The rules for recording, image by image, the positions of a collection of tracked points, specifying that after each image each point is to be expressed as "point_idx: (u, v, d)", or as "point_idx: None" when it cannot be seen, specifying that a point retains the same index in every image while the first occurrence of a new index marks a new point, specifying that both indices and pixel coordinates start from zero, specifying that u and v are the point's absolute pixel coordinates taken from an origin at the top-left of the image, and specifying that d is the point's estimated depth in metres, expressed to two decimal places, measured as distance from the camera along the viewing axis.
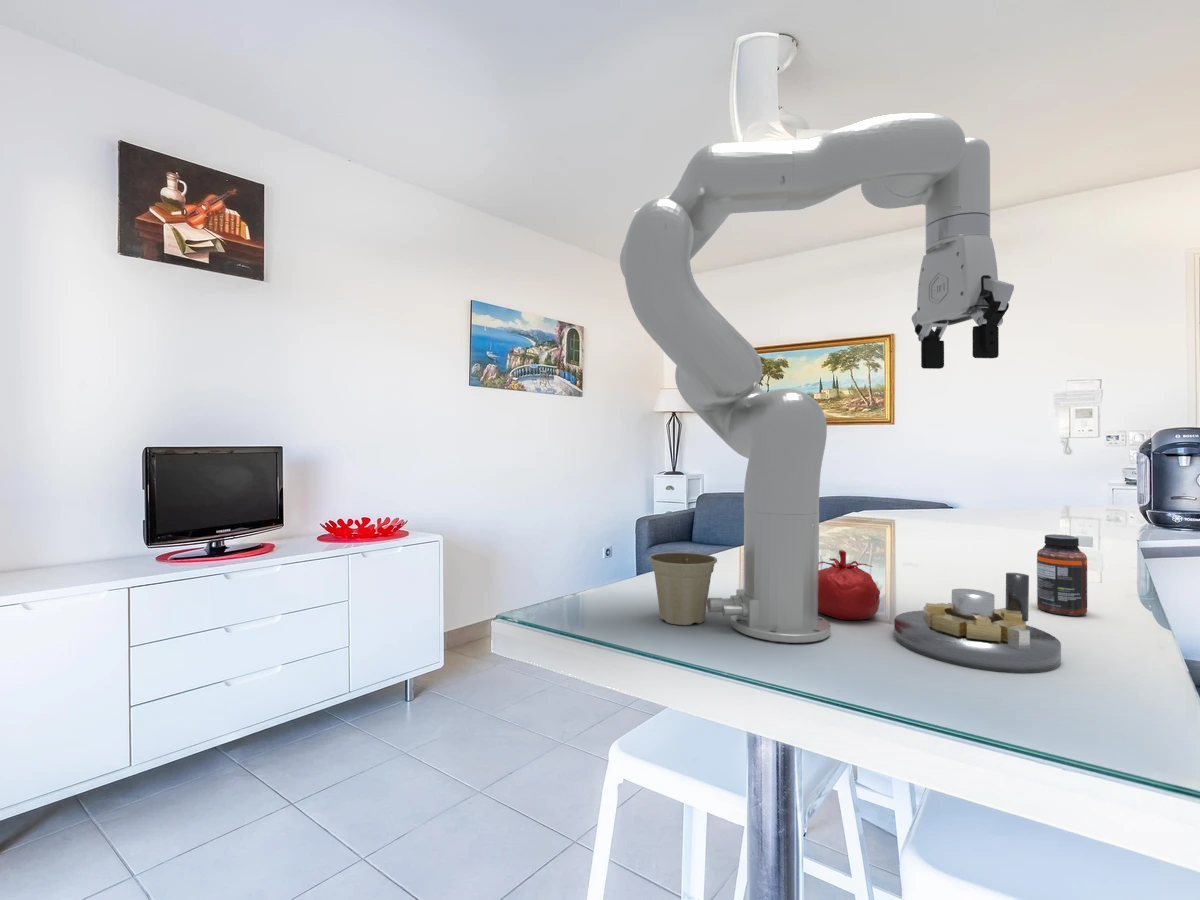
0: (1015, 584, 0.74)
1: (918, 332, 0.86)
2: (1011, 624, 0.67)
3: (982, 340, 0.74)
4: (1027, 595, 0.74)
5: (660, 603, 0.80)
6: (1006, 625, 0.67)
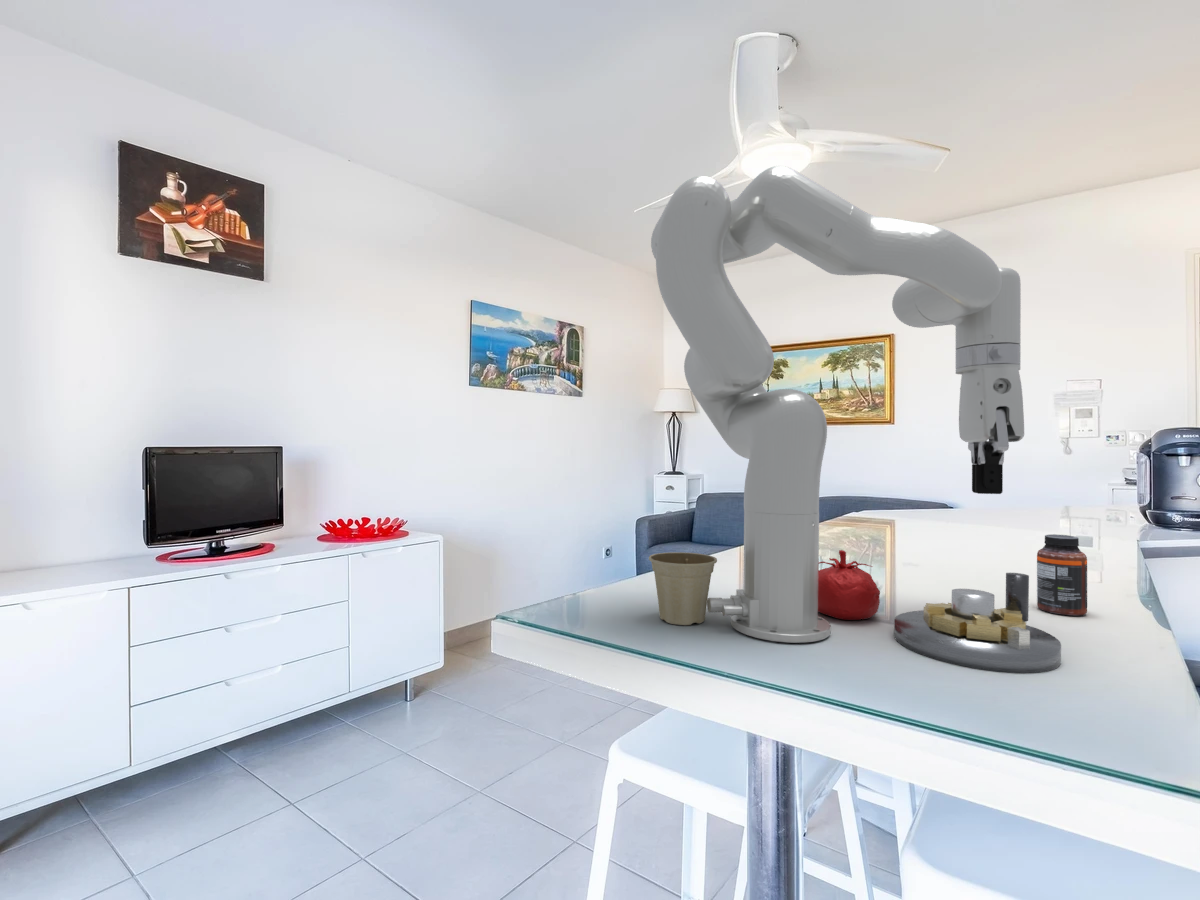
0: (1015, 584, 0.74)
1: None
2: (1011, 624, 0.67)
3: None
4: (1027, 595, 0.74)
5: (660, 603, 0.80)
6: (1006, 625, 0.67)
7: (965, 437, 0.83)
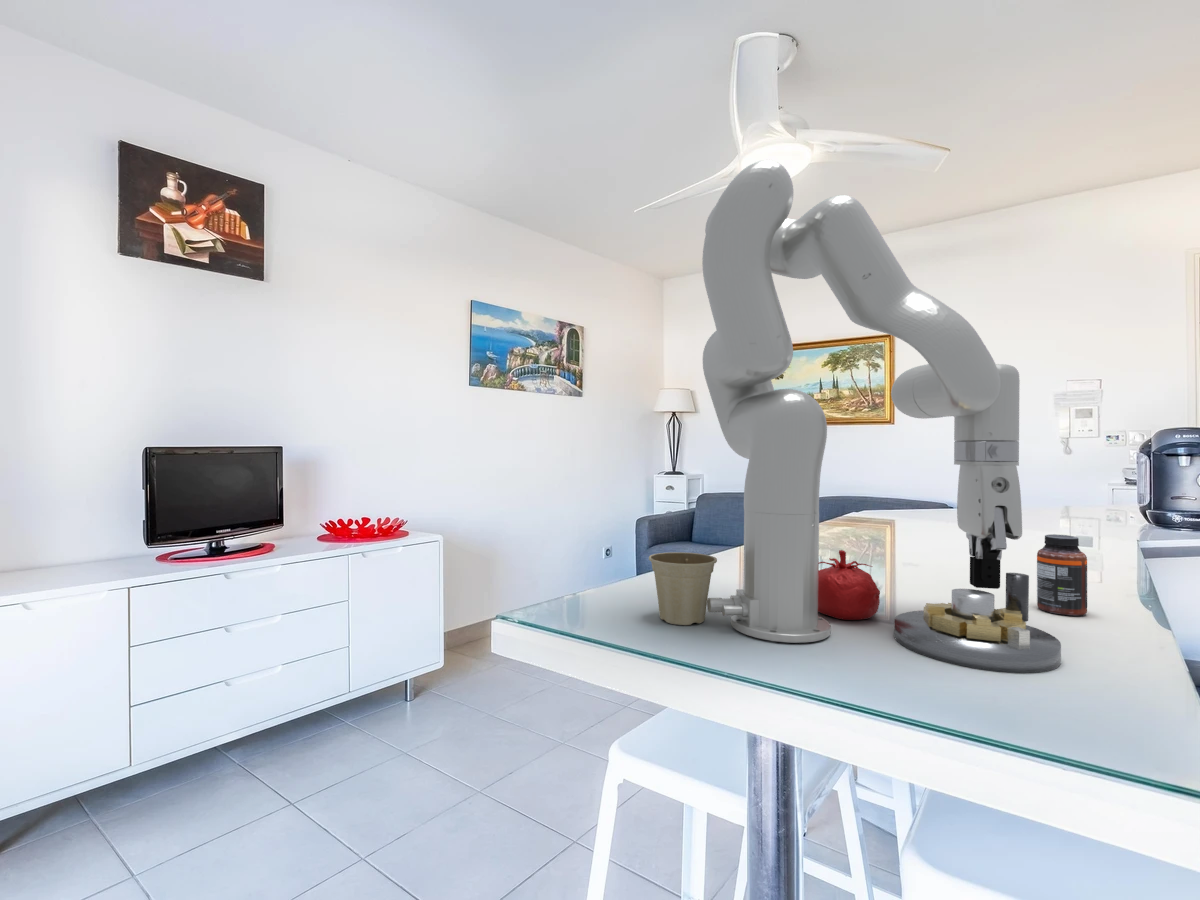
0: (1015, 584, 0.74)
1: (999, 550, 0.78)
2: (1011, 624, 0.67)
3: None
4: (1027, 595, 0.74)
5: (660, 603, 0.80)
6: (1006, 625, 0.67)
7: (963, 528, 0.83)
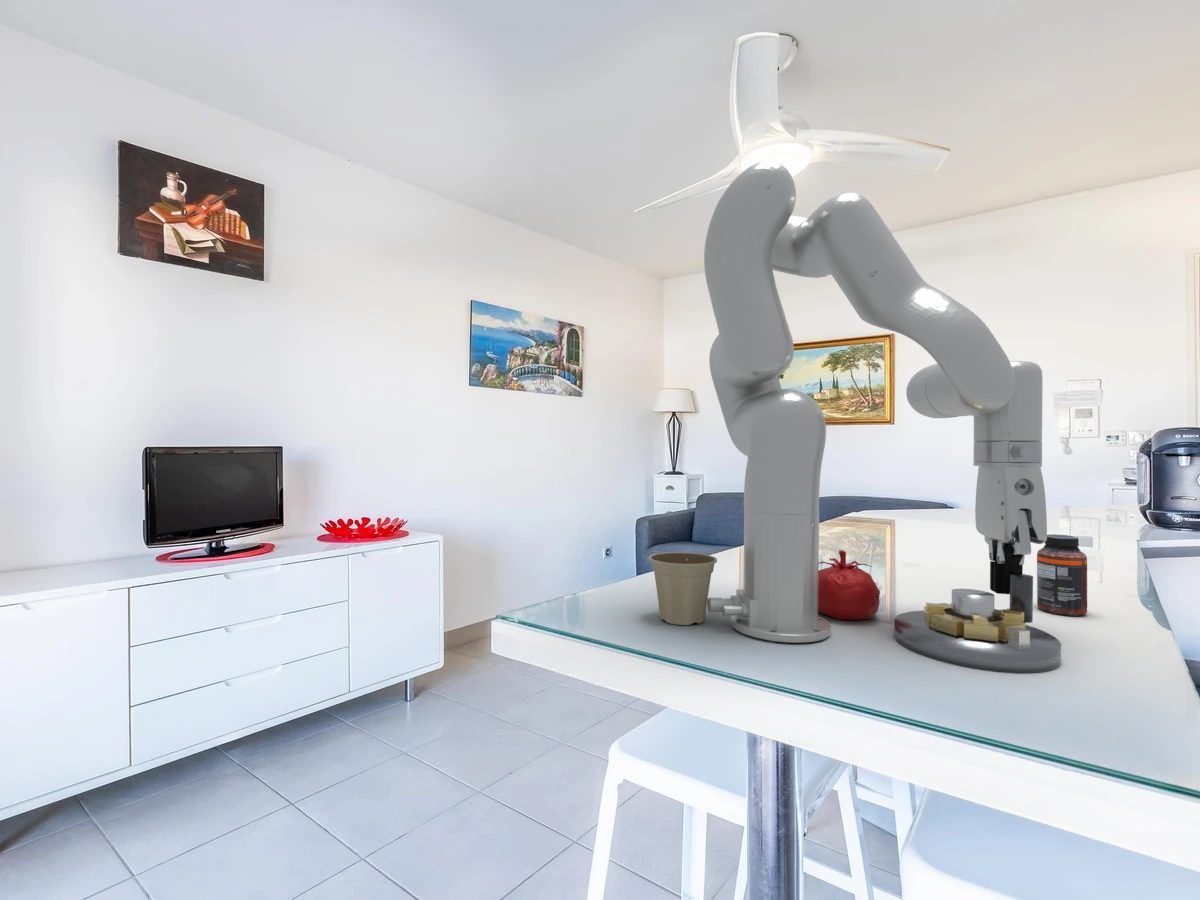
0: (1018, 585, 0.74)
1: (1021, 554, 0.75)
2: (1010, 624, 0.67)
3: None
4: (1031, 596, 0.73)
5: (660, 603, 0.80)
6: (1004, 625, 0.67)
7: (983, 531, 0.80)
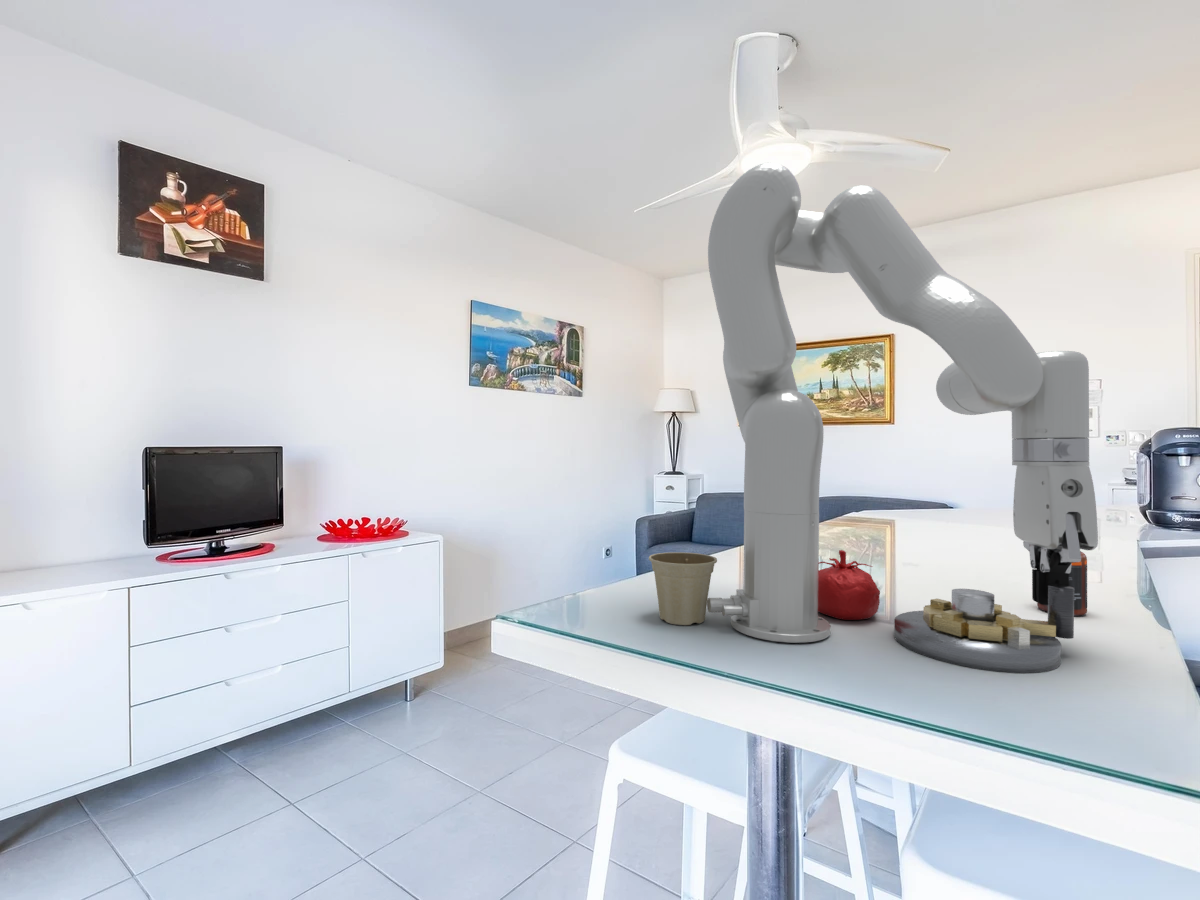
0: (1051, 596, 0.68)
1: (1068, 562, 0.69)
2: (983, 624, 0.67)
3: None
4: (1066, 610, 0.67)
5: (660, 603, 0.80)
6: (974, 623, 0.67)
7: (1023, 537, 0.74)
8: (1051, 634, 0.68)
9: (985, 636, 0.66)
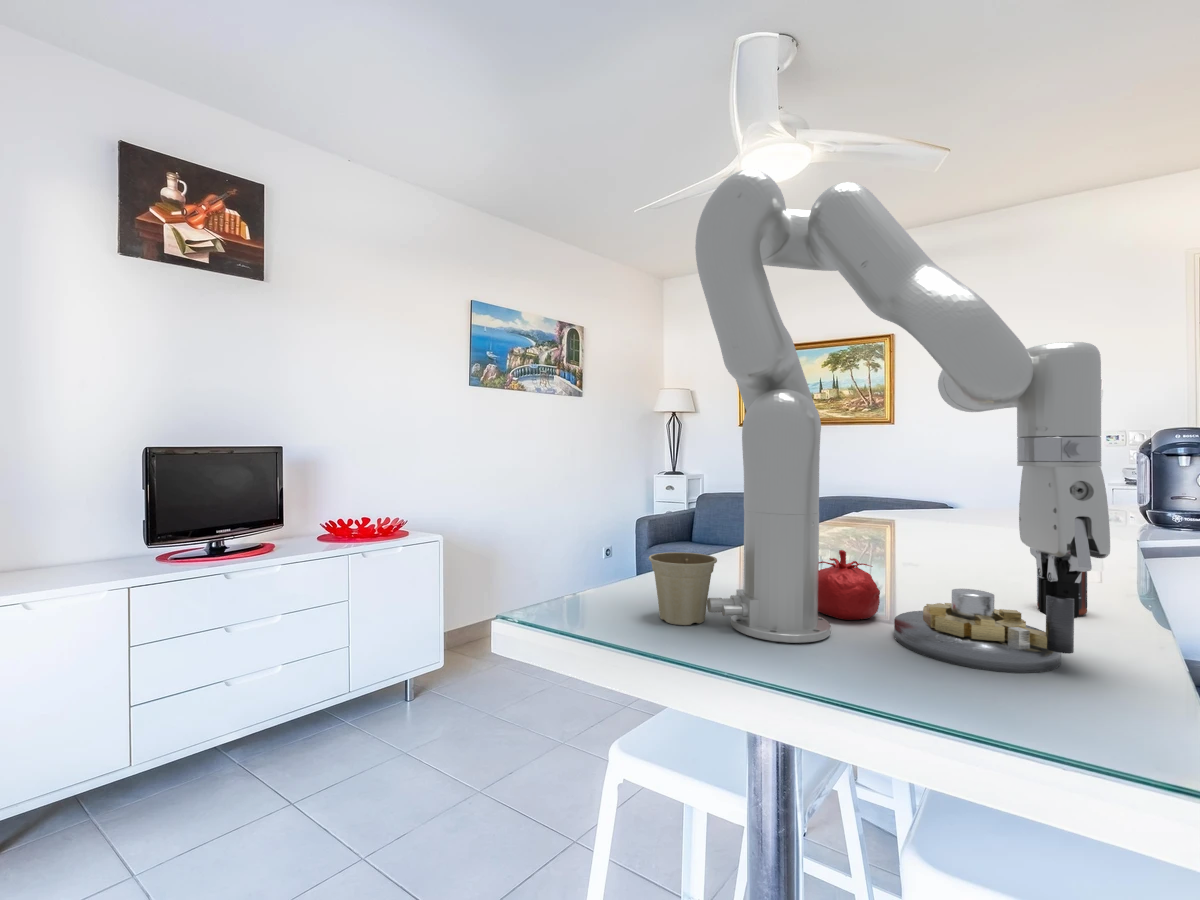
0: (1046, 605, 0.64)
1: (1078, 571, 0.64)
2: (951, 619, 0.69)
3: None
4: (1055, 621, 0.63)
5: (660, 603, 0.80)
6: (942, 617, 0.70)
7: (1029, 543, 0.68)
8: (1042, 645, 0.64)
9: (948, 629, 0.69)
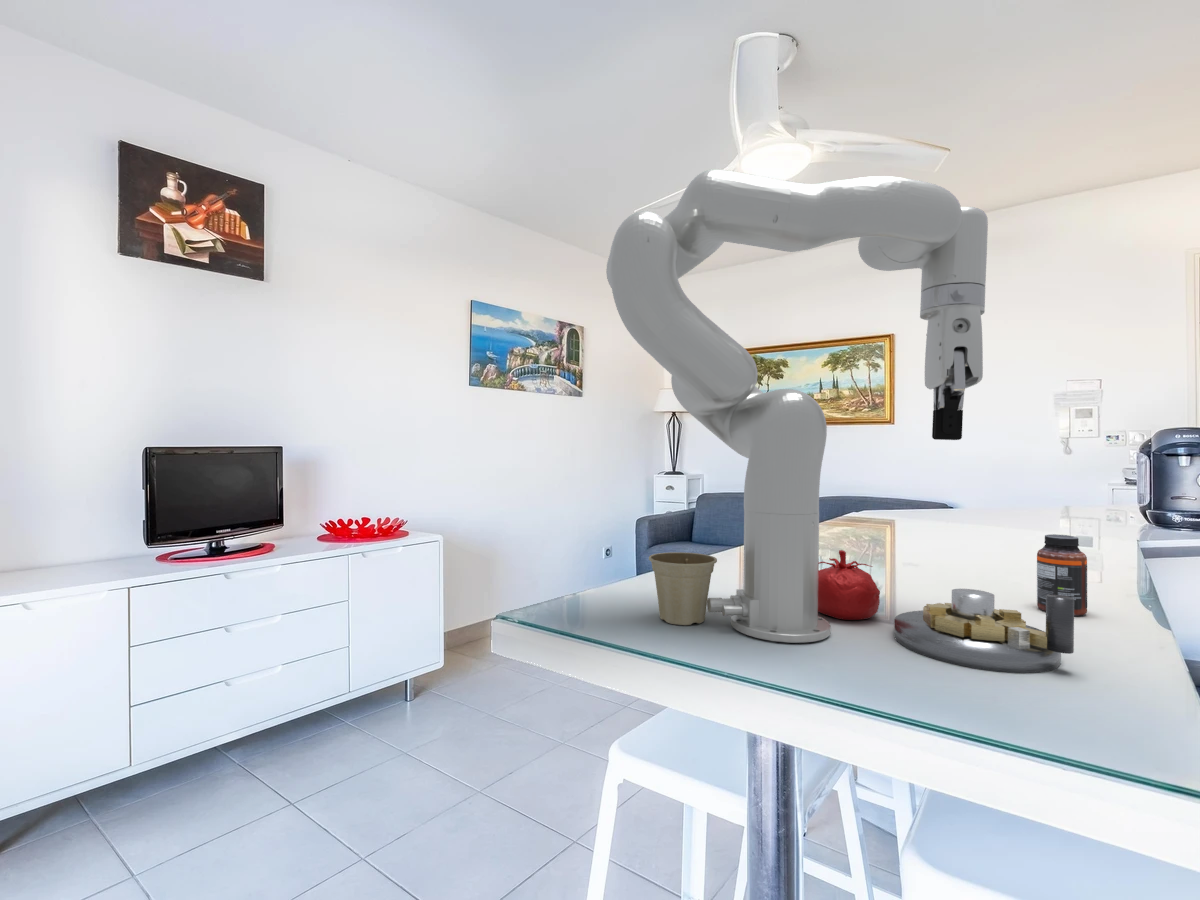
0: (1046, 605, 0.64)
1: None
2: (951, 619, 0.69)
3: None
4: (1055, 621, 0.63)
5: (660, 603, 0.80)
6: (942, 617, 0.70)
7: (928, 383, 0.82)
8: (1042, 645, 0.64)
9: (948, 629, 0.69)
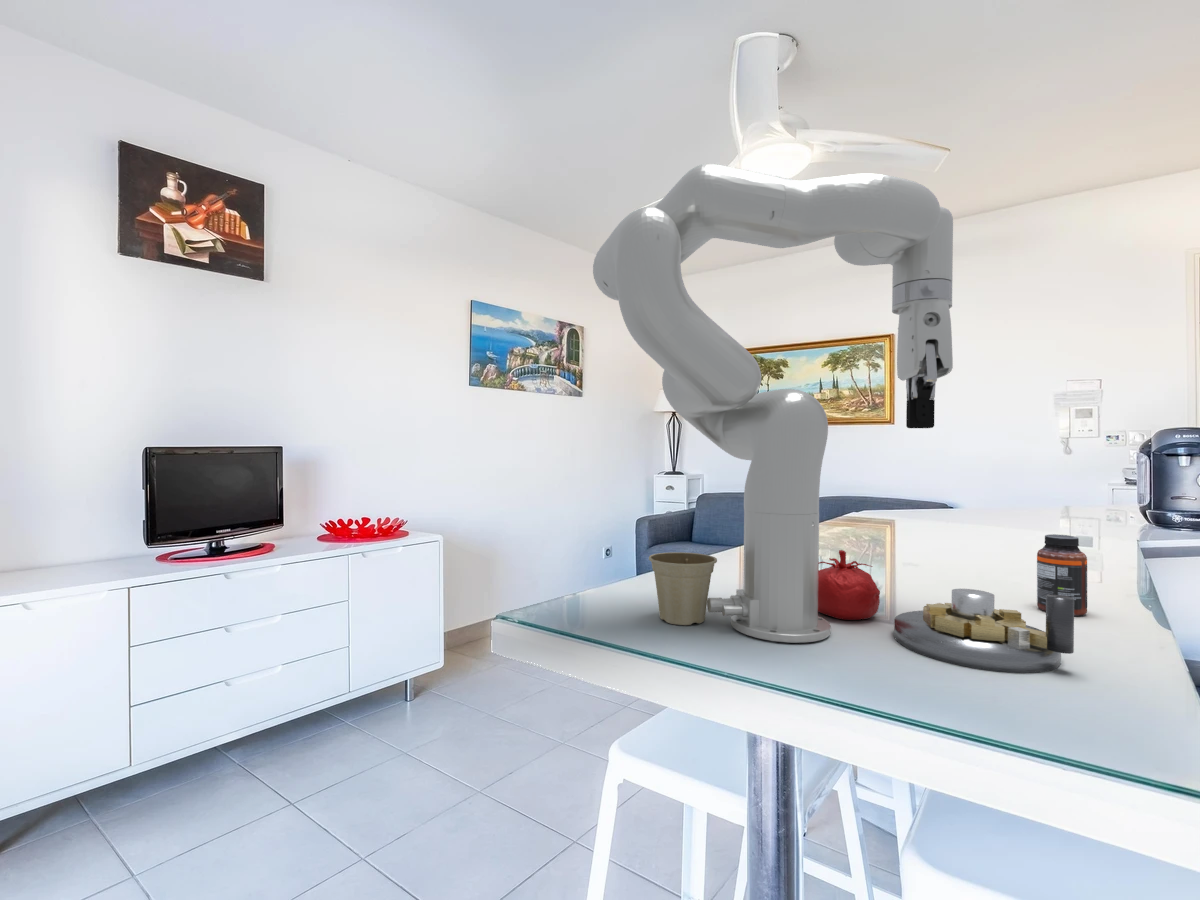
0: (1046, 605, 0.64)
1: None
2: (951, 619, 0.69)
3: None
4: (1055, 621, 0.63)
5: (660, 603, 0.80)
6: (942, 617, 0.70)
7: (901, 375, 0.85)
8: (1042, 645, 0.64)
9: (948, 629, 0.69)
